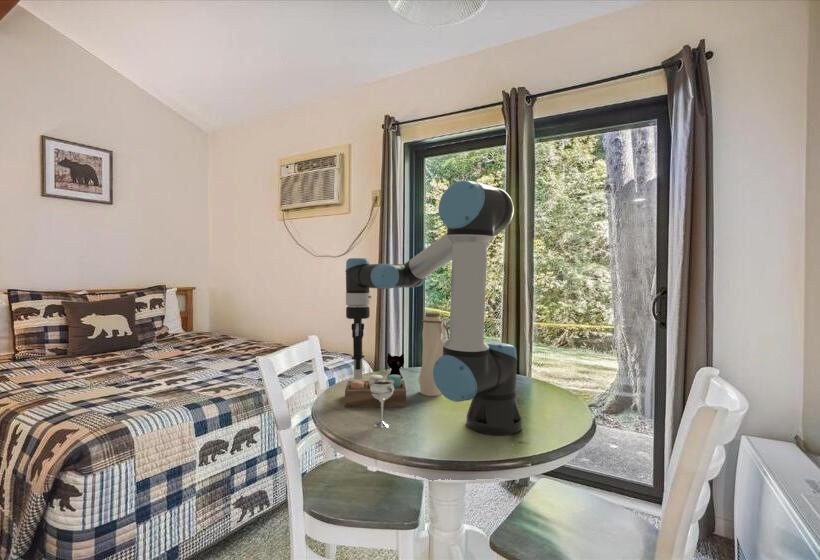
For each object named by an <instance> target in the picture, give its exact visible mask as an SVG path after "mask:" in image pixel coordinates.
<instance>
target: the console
mask: <svg viewBox="0 0 820 560" xmlns="http://www.w3.org/2000/svg"><path fill="white" fill-rule="evenodd" d="M353 381H354V380H348V381H347V384H346V386H345V390H344V408H357V407H356V406H364V407H363V408H366V407H365V406H368V407H367V408H377V407H378V408H381V402H380V401H379V400H377V399H375V398H374V397H373V396H372V395H371V392H370V388H369V380H362V381H363V382H364V388H351V382H353ZM406 388H407V387H406V383H405V380H403V379H401V388H394V393H393V395H392V396H391V397H390V398H389V399H387V400H385V402H384V405H383V408H388V407H389V408H390V407H393V408H394V407H407V389H406ZM351 406H352V407H351ZM369 406H370V407H369Z"/></svg>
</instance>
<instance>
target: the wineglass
mask: <svg viewBox="0 0 820 560" xmlns="http://www.w3.org/2000/svg"><path fill="white" fill-rule="evenodd" d="M370 382H371V384H372V385H371V386H370V392H371V395H372V396H373V397H374V398H375V399H377V400H379V401H380V402H381V407H380V419H381V420H380V421H376V422H373V424H372V426H373V427H375V428H381V429H384V428H389V427H391V425H392V424H391V422H389V421H385V420H384V407H383V405H384V402H385V400H387V399H389V398H390V397H391V396H392V395H393V393H394V385H393V383H394V380H392V379H388V378H387V377H385V378H384V377H383V378H379V379H373V380H371V381H370Z"/></svg>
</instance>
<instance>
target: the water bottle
mask: <svg viewBox="0 0 820 560" xmlns="http://www.w3.org/2000/svg"><path fill="white" fill-rule="evenodd" d="M424 315H425V316H424V319H422V320H421V322H422V323H423V328H422V344H423V346H422V361H421V362H422V363H421V368H420V373H419V378H418V381H419V382H418V383H419V389H420V391H419V392H420V394H422V395H423V396H426V397H427V396H428V397H437V396H441V395H442V394H441V392H440V390H439V389H438V388H437V387H436V384H435V382H434V378H433V367H434V364H435V362H436V361H437V360H438V359H439V358H440V357H442V356H443V344H444V343H445V342H446V341H447V340H448V339H449V334H450V331H449V329H448V328H447V321H446V319H445V320H442V319H441V316H440V312H437V311H427V312H425V314H424Z"/></svg>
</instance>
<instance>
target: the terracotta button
mask: <svg viewBox="0 0 820 560" xmlns="http://www.w3.org/2000/svg"><path fill="white" fill-rule="evenodd" d="M352 381H353V382H351V388H364V382H363V381H364V380H352Z"/></svg>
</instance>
